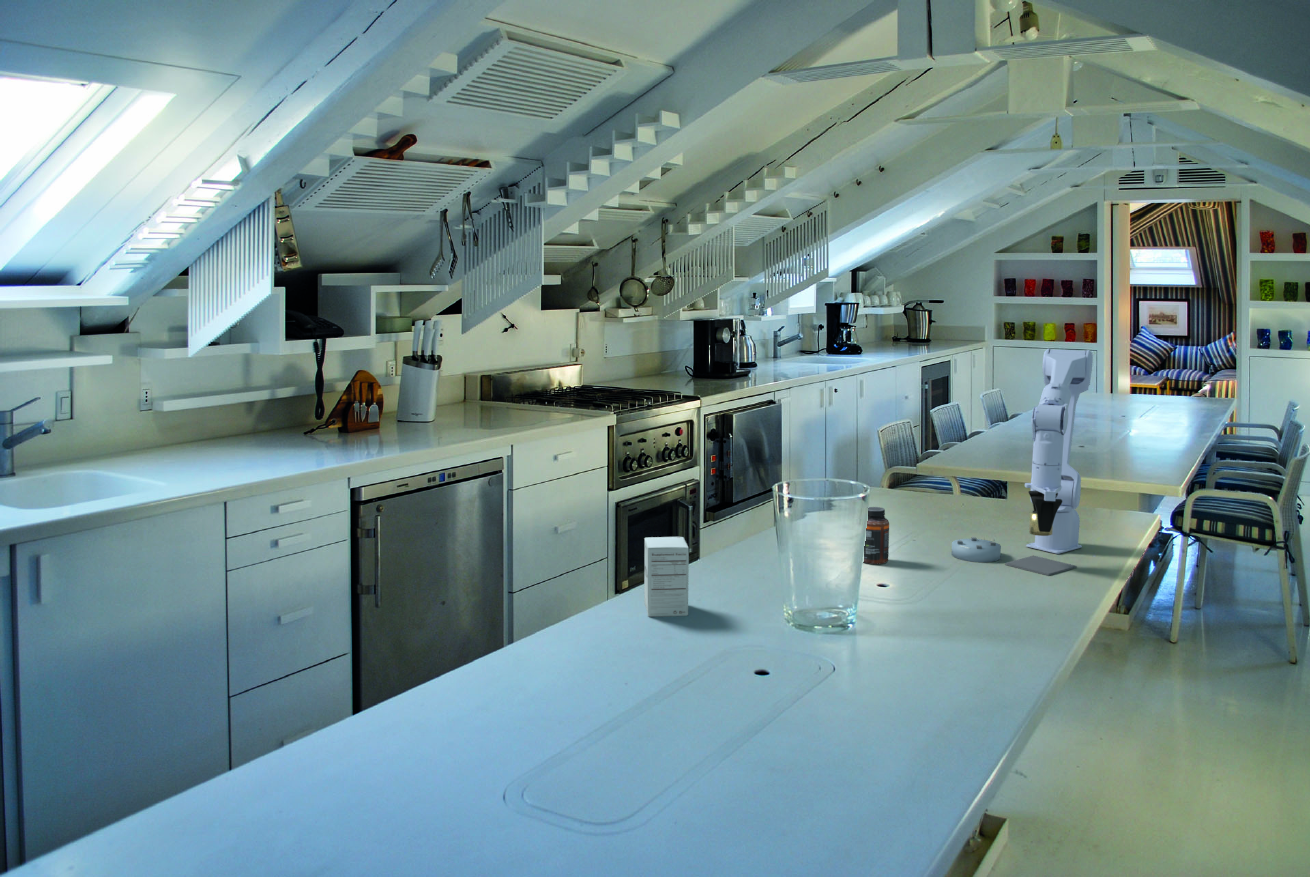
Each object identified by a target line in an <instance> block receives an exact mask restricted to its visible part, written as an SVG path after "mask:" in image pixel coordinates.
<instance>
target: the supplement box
mask: <svg viewBox="0 0 1310 877" xmlns="http://www.w3.org/2000/svg"><path fill="white" fill-rule="evenodd" d="M689 550H690V548H689V546H688V543H687V541H686V540H685V537H684V536H661V537H659V536H657V537H656V536H655V537H653V536H651V537H644V573H643V574H644V577H643V578H644V589H643V590H644V592H643V594H644V600H643V602H644V606H645V609H646V613H647V617H656V618H657V617H686V616H689V570H690V569H689V568H690V566H689V562H690V561H689V560H690V559H689V558H690V557H689Z"/></svg>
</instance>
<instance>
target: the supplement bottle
mask: <svg viewBox="0 0 1310 877" xmlns="http://www.w3.org/2000/svg"><path fill="white" fill-rule="evenodd" d="M867 508H868V507H867ZM885 515H886V510H885V508H884V507H880V506H869V508H868V521H867V528H866V541H865V546H864V562H863V563H864V564H867V565H868V564H870V565H885V563H888V561H889V557H890V556H889V555H890V554H889V547H890V545H889V544H890V522H889V519H887V518H886V516H885Z"/></svg>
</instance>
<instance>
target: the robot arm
mask: <svg viewBox="0 0 1310 877" xmlns="http://www.w3.org/2000/svg"><path fill="white" fill-rule="evenodd" d="M1093 355H1094V354H1093V352H1092V351H1091V349H1086V350H1083V349H1082V350H1081V349H1080V350H1079V349H1078V350H1077V349H1056V348H1055V349H1053V348H1052V349H1051V348H1047V349H1046V350H1044V352H1043V356H1042V366H1041V367H1042V376H1043V382H1044V385H1045V386H1044V387H1043V389H1042V392H1041V396H1040V399H1039V402H1038V405H1037V406H1033V409H1032V412H1031V432H1032V433H1031V441H1032V442H1033V445H1032V458H1031V459H1032V462H1031V478H1030V482H1025V483H1024V487H1025V488H1026V489H1030V490H1029V491H1028V495H1029V496H1030V497H1029V500H1030V503H1031V504H1032V507H1033V511H1037V519H1038V528H1039V531H1040V532H1050V531H1051V528H1052V525H1053V534H1052V535H1049V536H1037V535H1034V542H1030V543H1028V544H1027V543H1026V545H1025V547H1027V548H1031V549H1036V550H1040V551H1044V552H1047V553H1048V552H1049V553H1053V554H1058V555H1060V554H1063V553H1066V552H1070V551H1073V550H1074V551H1075V550H1077V549H1081V548H1083V547H1082V545H1081V544H1079V539H1080V538H1079V537H1080V522H1081V520H1080V518H1081V517H1080V516H1079V513H1078V511H1077V510H1076V509H1077V508H1079V505H1080V501H1081V494H1082V492H1081V490H1082V489H1081V488H1082V486H1081V485H1082V484H1081V483H1082V477H1081V475H1080V473H1079V472H1078V470H1077V469H1075V468H1074V467H1072V466H1071V465H1070V462H1071V452H1072V442H1073V434H1074V427H1075V426H1074V425H1075V417H1076V408H1077V403H1078V401H1079V397H1080V395H1081V394H1082V393H1084V392H1087V391H1089V387H1090V385H1091V378H1092V371H1093V363H1094V362H1093V360H1094V359H1093Z"/></svg>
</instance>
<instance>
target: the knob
mask: <svg viewBox="0 0 1310 877" xmlns="http://www.w3.org/2000/svg"><path fill="white" fill-rule="evenodd" d="M1028 522H1029V526H1028V527H1029V529H1028V530H1029V531H1028V534H1029V535H1033V536H1035V535H1037V536H1049V535H1052V534H1053V525H1052V528H1051V531H1050V532H1040V531H1039V528H1038V519H1037V511H1034V510H1032V511H1029V521H1028Z"/></svg>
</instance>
